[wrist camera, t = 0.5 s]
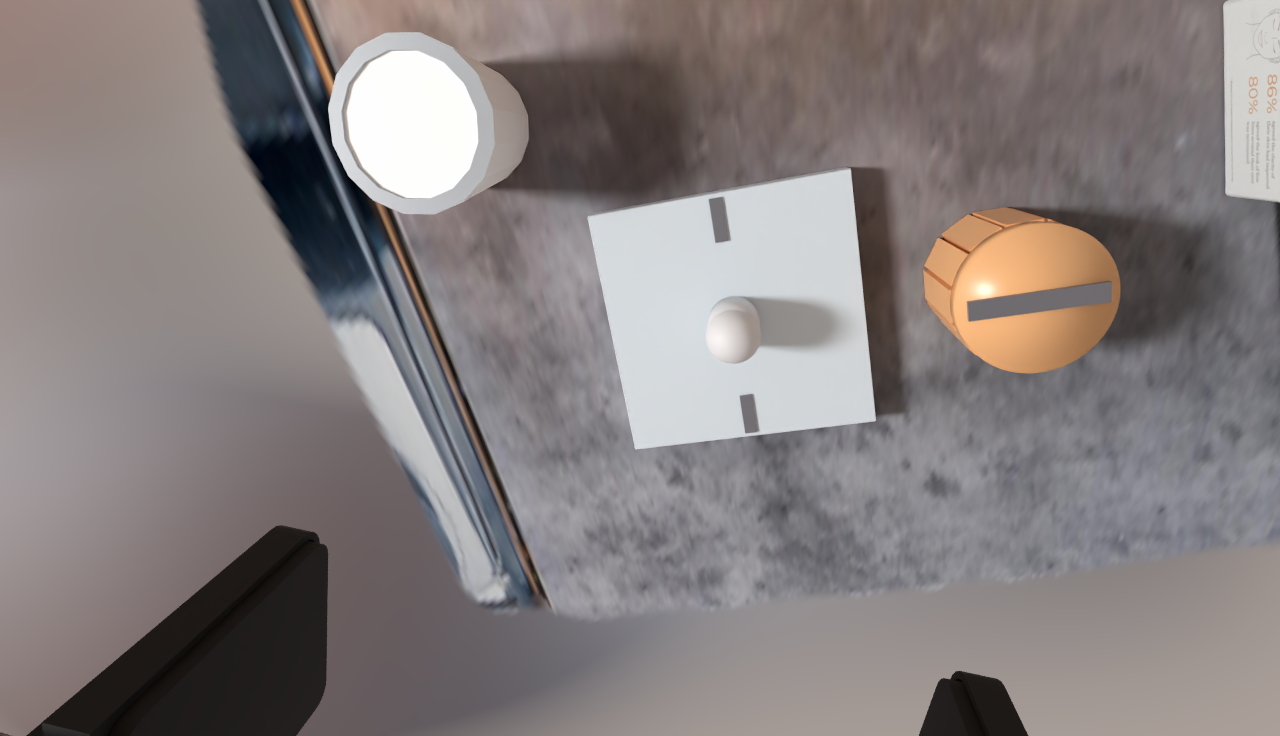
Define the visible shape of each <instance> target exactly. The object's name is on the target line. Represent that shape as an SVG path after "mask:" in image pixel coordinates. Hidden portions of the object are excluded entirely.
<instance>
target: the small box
mask: <svg viewBox="0 0 1280 736" xmlns="http://www.w3.org/2000/svg"><path fill="white" fill-rule="evenodd" d="M1223 12H1224V86H1225V178H1226V188H1225V192H1226V195H1228V196H1232V197H1239V198H1248V199H1257V200H1266V201H1273V202H1280V0H1228V1H1226V2H1225V3H1224V6H1223Z"/></svg>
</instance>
